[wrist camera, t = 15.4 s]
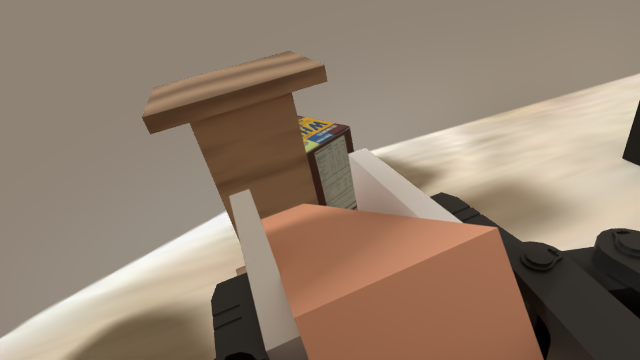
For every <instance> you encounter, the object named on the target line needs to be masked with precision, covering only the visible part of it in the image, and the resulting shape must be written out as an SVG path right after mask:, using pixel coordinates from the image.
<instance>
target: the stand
mask: <svg viewBox="0 0 640 360" xmlns="http://www.w3.org/2000/svg"><path fill="white" fill-rule="evenodd" d="M323 82H327V76H326V71H325V66H324V65H323V64H321V63H318V62H316V61H313V60H311V59H308V58H306V57H303V56H301V55H298V54H296V53H294V52H291V51H287V52H283V53H280V54H276V55H272V56H269V57H265V58H262V59H258V60H254V61H250V62H247V63H243V64H239V65H236V66H232V67H229V68H225V69H221V70H218V71H214V72H210V73H206V74H203V75H199V76H196V77H192V78H188V79H184V80H181V81H177V82H173V83H170V84H166V85H162V86H159V87H155V88H153V91H152V93H151V96H150V98H149V101H148V103H147V106H146V108H145V111H144V113H143V116H142V118H143V121H144V122H145V125H146V127H147V129H148V131H149V133H150V134H153V133H156V132H160V131H163V130H166V129H170V128H173V127H176V126H180V125H183V124H186V123H190V125H191V128H192V130H193V132H194V135H195V137H196V139H197V142H198V144H199V146H200V149H201V151H202V154H203V156H204V158H205V161H206V163H207V165H208V168H209V170H210V173H211V175H212V177H213V180H214V182H215V184H216V187H217V189H218V191H219V194H220V196H221V199H222V201H223V203H224V206H225V208H226V210H227V213H228V215H229V218H230V220H231V222H232V225H233V227H234V229H235V232H236V234H237V237H238V239H239V236H238V232H237V227H236V223H235V219H234V215H233V210H232V206H231V202H230V198H229V196H231V195H234V194H236V193H239V192H242V191H245V190H248V189H249V190H250V192H251V195H252V198H253V201H254V203H255V206H256V209H257V212H258V214H259V217H260V220H261V219H264V218H266V217H269V216H272V215H274V214H277V213H280V212H282V211H285V210H288V209H291V208H293V207H296V206H299V205H301V204H312V205H319V203H318V199H317V195H316V191H315V187H314V183H313V179H312V175H311V170H310V166H309V162H308V158H307V154H306V150H305V146H304V142H303V137H302V133H301V129H300V125H299V121H298V117H297V113H296V109H295V104H294V100H293V96H292V92H293V91H297V90H300V89H303V88H306V87H310V86H313V85H317V84H320V83H323ZM261 223H262V222H261ZM239 241H240V240H239ZM236 272H237V276H239V275H241V274H243V273H246V272H247V269H246V266H243V267H241V268H238V269H236Z"/></svg>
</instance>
